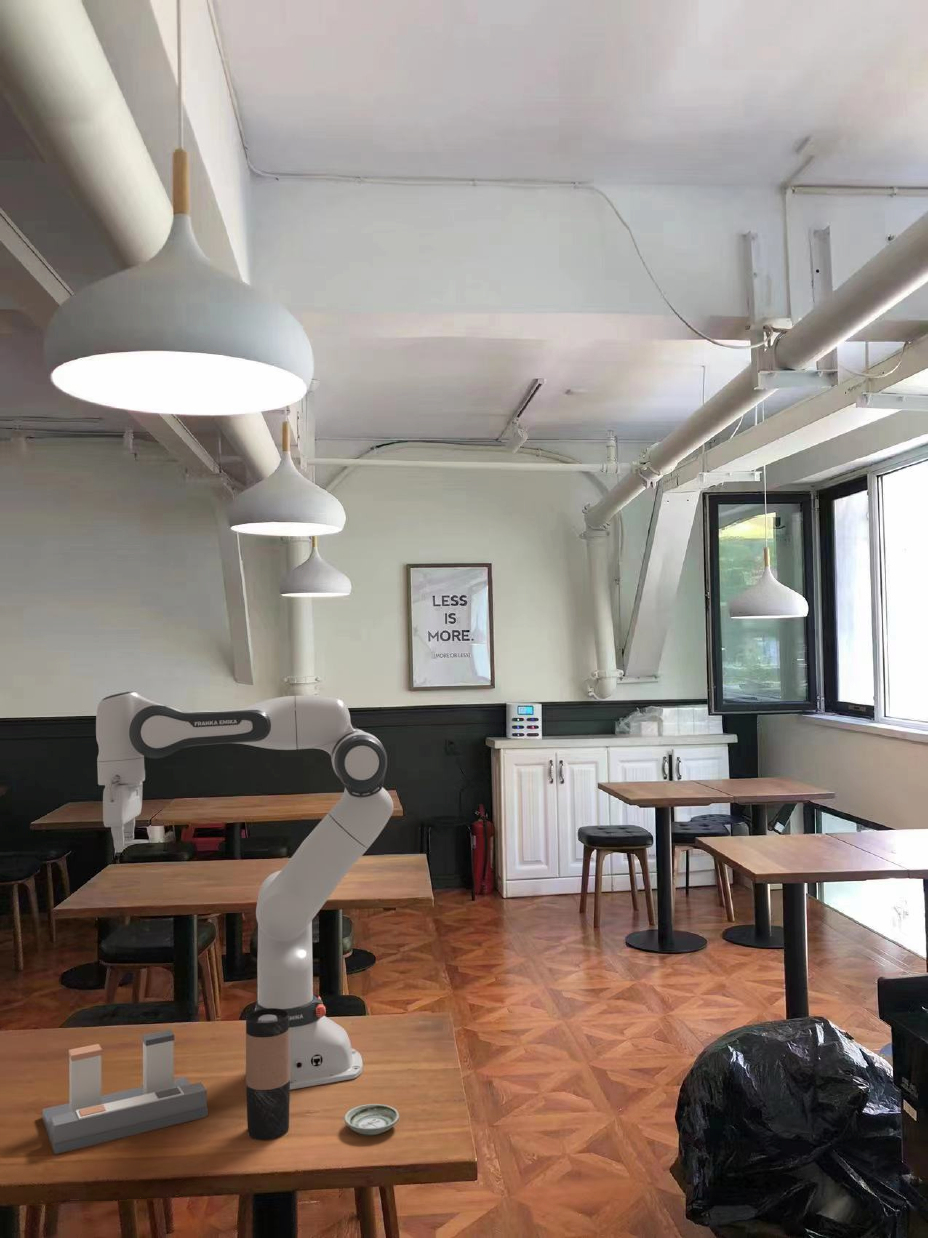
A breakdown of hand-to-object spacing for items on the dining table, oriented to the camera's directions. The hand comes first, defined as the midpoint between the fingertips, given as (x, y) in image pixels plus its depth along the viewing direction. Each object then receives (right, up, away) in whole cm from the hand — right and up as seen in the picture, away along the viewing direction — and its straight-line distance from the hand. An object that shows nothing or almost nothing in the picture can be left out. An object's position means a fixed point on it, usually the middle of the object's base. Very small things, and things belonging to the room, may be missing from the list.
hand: (124, 844), depth 195 cm
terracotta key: (-1, -45, -17) cm, 48 cm away
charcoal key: (+10, -45, -10) cm, 47 cm away
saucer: (+51, -46, -21) cm, 72 cm away
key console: (+5, -46, -15) cm, 49 cm away
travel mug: (+33, -46, -21) cm, 60 cm away
